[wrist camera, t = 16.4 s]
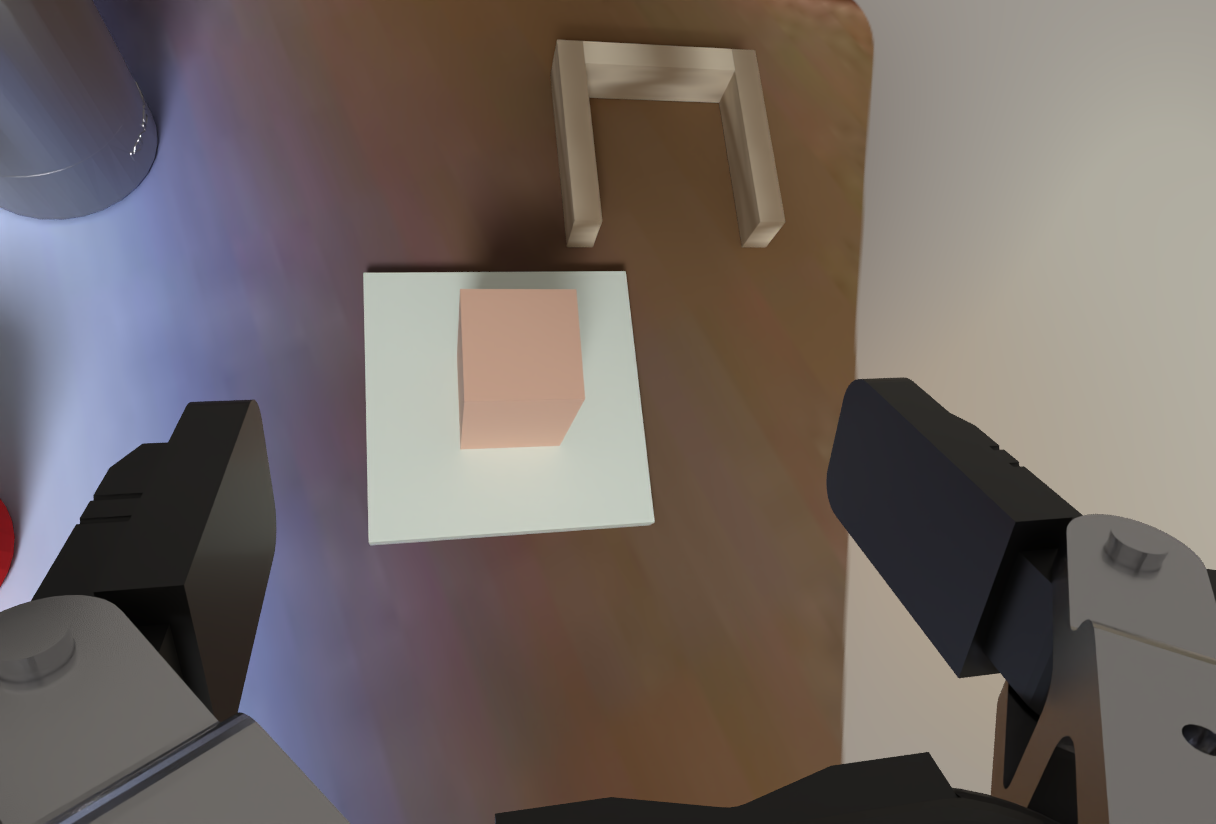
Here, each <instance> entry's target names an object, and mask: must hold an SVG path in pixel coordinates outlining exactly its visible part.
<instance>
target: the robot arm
mask: <svg viewBox="0 0 1216 824" xmlns="http://www.w3.org/2000/svg"><path fill="white" fill-rule="evenodd" d="M156 148H157V129H156V125H155V122H154V119H153V116H152V113H151V111H150V109H149V107H148V105H147V103H146V101H145V99H144V97H143V94H142V92H141V90H140V88H139V86H138V84H137V82H135V81H134V79H133V77H132V75H131V73H130V71H129V69H128V67H127V65H126V63H125V61H124V59H123V57H122V55H121V54H120V52H119V50H118V48H117V46H116V44H115V42H114V40H113V38H112V37H111V35H110V33H109V31H108V29H107V27H106V25H105V23H104V22H103V20H102V18H101V16H100V14H99V12H98V10H97V8H96V6H95V5H94V3H93V1H92V0H0V208H3V209H5V210H8V211H10V212H13V213H15V214H18V215H21V216H26V217H32V218H37V219H56V220H63V219H70V218H76V217H83V216H86V215H89V214H92V213H95V212H98V211H101V210H104V209H106V208H108V207H110V206H111V205H113V204H115V203H117V202H119V201H121V200H122V199H123V198H124V197H126V196H127V195H128V194H129V193H131V192H132V191H133V190H134V189H135V188H136V187H137V186H138V185H139V184H140V182H141V181H142V180H143V179H144V177H145V176H146V175H147V173H148V171H149V169H150V167H151V165H152V163H153V161H154V158H155V153H156ZM827 494H828V499H829V502H830V505H831V508H832V510H833V512H834V514H835V515H836V517H837V518H838V519H839V521H840V522H841V523H842V525H843V526H844V527H845V529H846V530H847V531H848V533H849V534H850V535H851V536H852V538H853V539H854V540H855V542H856V543H857V544H858V546H859V547H860V548H861V550H862V551H863V552H864V554H865V555H866V556H867V558H868V559H869V560H870V562H871V563H872V564H873V566H874V567H875V568H876V569H877V571H878V572H879V574H880V575H881V576H882V577H883V579H884V580H885V581H886V583H887V584H888V585H889V587H890V588H891V589H892V591H893V592H894V593H895V595H896V596H897V597H898V598H899V600H900V601H901V603H902V604H903V605H904V606H905V608H906V609H907V611H908V612H909V613H910V615H911V616H912V617H913V618H914V620H915V621H916V622H917V624H918V625H919V626H920V628H921V629H922V630H923V632H924V633H925V634H926V636H927V637H928V638H929V640H930V641H931V642H932V644H933V645H934V646H935V647H936V649H937V650H938V652H939V653H940V654H941V656H942V657H943V658H944V659H945V661H946V662H947V663H948V665H949V666H950V667H951V669H952V670H953V671H954V673H955V674H956V675H957V677H958V678H964V677H972V676H980V675H989V674H997V673H1001V674H1002V676H1003V677H1004V678H1005V679H1006V681H1005V683H1004V686H1003V688H1002V690H1001V693H1000V695H999V698H998V703H997V714H996V728H995V742H994V757H993V771H992V785H991V795H987V794H983V793H978V792H973V791H968V790H963V789H957V788H952V787H951V786H950V784H949V783H948V781H947V780H946V778H945V777H944V775H943V774H942V772H941V770H940V769H939V767H938V766H937V764H936V763H935V761H934V760H933V758H932V757H931V755H930V754H929V752H925V753H918V754H911V755H904V756H897V757H890V758H883V759H876V760H869V761H862V762H855V763H848V764H841V765H834V766H830V767H827V768H825V769H823V770H821V771H818V772H816V773H814V774H812V775H809V776H807V777H805V778H803V779H800V780H798V781H796V782H794V783H791V784H789V785H787V786H785V787H782V788H780V789H778V790H776V791H773V792H771V793H769V794H767V795H764V796H762V797H760V798H758V799H755V800H753V801H751V802H749V803H746V804H744V805H741V806H737V807H731V808H726V807H711V806H701V805H690V804H679V803H668V802H657V801H646V800H636V799H625V798H614V797H609V798H602V799H595V800H588V801H581V802H574V803H567V804H560V805H553V806H546V807H539V808H532V809H525V810H518V811H511V812H504V813H497V814H495V824H1216V570H1210V569H1206V568H1205V565H1204V564H1203V562H1202V561H1201V559H1200V558H1199V557H1198V556H1197V555H1196V554H1195V553H1194V552H1193V551H1192V550H1191V549H1190V548H1188V547H1187V546H1186V545H1185V544H1183V543H1182V542H1180V541H1179V540H1177V539H1176V538H1174V537H1172V536H1170V535H1169V534H1167V533H1165V532H1163V531H1161V530H1158V529H1157V528H1154V527H1152V526H1149V525H1147V524H1144V523H1141V522H1138V521H1135V520H1132V519H1128V518H1123V517H1119V516H1112V515H1104V514H1091V515H1084V516H1083V515H1082V514H1081V513H1079V512H1078V511H1077V510H1076V509H1075V508H1073V507H1072V506H1071V505H1070V504H1069V503H1067V502H1066V501H1065V500H1064V499H1062V498H1061V497H1060V496H1059V495H1058V494H1057V493H1055V492H1054V491H1053V490H1052V489H1050V488H1049V487H1048V486H1047V485H1046V484H1045V483H1043V482H1042V481H1041V480H1040V479H1039V478H1037V477H1036V476H1035V475H1034V474H1033V473H1031V472H1030V471H1029V470H1028V469H1027V468H1025V467H1020V466H1019V462H1018V461H1017V460H1016V459H1015V458H1013V457H1012V456H1011V455H1010V454H1009V453H1007V452H1006V451H1005V450H999V445H998V444H997V443H995V442H994V441H993V440H992V439H991V438H989V437H988V436H987V435H986V434H985V433H983V432H982V431H981V430H980V429H979V428H977V427H976V426H975V425H973V424H971V423H969V422H967V421H965V420H963V419H961V418H959V417H957V416H955V415H953V414H951V413H949V412H948V411H947V410H946V409H945V408H944V407H942V406H941V405H940V404H939V403H937V402H936V401H935V400H934V399H933V398H932V397H931V396H929V395H928V394H927V393H926V392H925V391H924V390H922V389H921V388H920V387H919V386H918V385H917V384H915V383H914V382H913V381H912V380H910V379H908V378H879V379H857V380H854V381H853V382H852V383H851V384H850V385H849V386H848V388H847V390H846V393H845V396H844V399H843V404H842V408H841V413H840V417H839V422H838V426H837V431H836V435H835V440H834V444H833V448H832V453H831V457H830V462H829V466H828V471H827ZM93 496H94V501H90V502H89V504H88V505H87V507H86V509H85V510H84V512H83V514H82V516H81V517H80V524H76V526H75V527H74V529H73V531H72V532H71V534H70V536H69V538H68V539H67V541H66V543H65V544H64V546H63V548H62V549H61V551H60V553H59V555H58V556H57V558H56V560H55V561H54V563H53V565H52V566H51V568H50V570H49V571H48V573H47V575H46V577H45V578H44V580H43V582H42V583H41V585H40V587H39V588H38V590H37V592H36V593H35V595H34V597H33V599H32V600H31V601H30V602H27V603H23V604H20V605H17V606H15V607H12V608H9V609H7V610H4V611H2V612H0V824H350V823H349V821H348V820H347V819H346V818H345V817H344V816H343V815H342V814H341V813H340V812H339V811H338V810H337V808H336V807H335V806H334V805H333V804H332V803H331V802H330V801H329V800H328V799H327V798H326V796H325V795H324V794H323V793H322V792H321V791H320V790H319V789H318V788H317V787H316V786H315V785H314V783H313V782H312V781H311V780H310V779H309V778H308V777H307V776H306V775H305V774H304V773H303V771H302V770H301V769H300V768H299V767H298V766H297V765H296V764H295V763H294V762H293V761H292V760H291V758H290V757H289V756H288V755H287V754H286V753H285V752H284V751H283V750H282V749H281V748H280V746H279V745H278V744H277V743H276V742H275V741H274V740H273V739H272V738H271V737H270V736H269V735H268V733H267V732H266V731H265V730H264V729H263V728H262V727H261V726H260V725H259V724H258V723H257V722H256V721H255V720H253V719H252V718H251V717H250V716H248V715H246V714H244V713H240V712H239V713H238V708H239V704H240V700H241V695H242V691H243V687H244V682H245V678H246V674H247V669H248V665H249V661H250V656H251V652H252V648H253V643H254V639H255V635H256V630H257V626H258V622H259V617H260V613H261V609H262V604H263V600H264V596H265V591H266V587H267V583H268V578H269V574H270V570H271V565H272V561H273V557H274V552H275V544H276V511H275V503H274V496H273V489H272V483H271V476H270V470H269V463H268V457H267V450H266V444H265V437H264V431H263V424H262V418H261V413H260V409H259V406H258V404H257V402H256V401H255V400H233V401H205V402H190V403H188V405H187V406H186V408H185V410H184V412H183V414H182V416H181V418H180V420H179V422H178V424H177V426H176V428H175V430H174V432H173V434H172V436H171V438H170V440H169V442H168V443H147V444H142V445H140V446H139V447H138V448H136V449H135V450H133V451H132V452H131V453H129V454H128V455H127V456H125V457H124V458H123V459H121V460H120V461H118V462H117V463H116V464H114V465H113V466H112V467H110V468H109V470H108V472H107V473H106V475H105V477H104V478H103V480H102V482H101V483H100V485H99V487H98V488H97V490H96V492H95V494H94V495H93Z"/></svg>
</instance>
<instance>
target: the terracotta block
mask: <svg viewBox="0 0 1216 824" xmlns="http://www.w3.org/2000/svg"><path fill="white" fill-rule="evenodd" d="M457 371H458V399H459V426H460V449H485V448H513V447H540V446H560V444H561V442H562V441H563V439H564V437H565V435H566V433H567V431H568V429H569V428H570V426H571V424H572V422H573V420H574V418H575V416H576V415H577V413H578V411H579V409H580V407H581V405H582V404H583V402H584V400H585V390H584V378H583V365H582V353H581V341H580V328H579V316H578V303H577V291H576V289H460V301H459V322H458V343H457Z"/></svg>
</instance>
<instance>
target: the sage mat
mask: <svg viewBox="0 0 1216 824" xmlns="http://www.w3.org/2000/svg"><path fill="white" fill-rule="evenodd" d="M363 276H364V327H365V377H366V427H367V478H368V528H369V544H370V545H382V544H396V543H410V542H424V541H438V540H451V539H465V538H479V537H493V536H506V535H520V534H534V533H548V532H562V531H575V530H589V529H603V528H617V527H630V526H644V525H651V524H652V523H654V513H653V504H652V496H651V487H650V478H649V470H648V461H647V452H646V443H645V435H644V426H643V417H642V409H641V400H640V391H639V383H638V374H637V365H636V356H635V348H634V339H633V330H632V322H631V313H630V304H629V296H628V287H627V278H626V271H577V272H407V273H363ZM460 289H576V291H577V303H578V316H579V328H580V341H581V353H582V365H583V378H584V390H585V400H584V402H583V404H582V405H581V407H580V409H579V411H578V413H577V415H576V416H575V418H574V420H573V422H572V424H571V426H570V428H569V429H568V431H567V433H566V435H565V437H564V439H563V441H562V442H561V444H560V446H540V447H513V448H485V449H460V426H459V399H458V371H457V343H458V322H459V301H460Z"/></svg>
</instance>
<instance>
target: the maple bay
mask: <svg viewBox="0 0 1216 824" xmlns="http://www.w3.org/2000/svg"><path fill="white" fill-rule="evenodd" d="M550 76H551V86H552V97H553V108H554V118H555V129H556V139H557V150H558V161H559V171H560V182H561V192H562V203H563V214H564V224H565V235H566V245H567V247H593V245H594V242H595V239H596V237H597V234H598V231H599V228H600V226H601V223H602V213H601V204H600V195H599V185H598V176H597V167H596V158H595V148H594V139H593V130H592V121H591V112H590V102H589V98H611V99H636V100H662V101H688V102H713V103H719V106H720V112H721V118H722V125H723V131H724V137H725V144H726V150H727V156H728V163H729V169H730V175H731V181H732V188H733V194H734V200H735V207H736V213H737V219H738V226H739V232H740V238H741V245H742V247H766V246H767V245H768V244H769V242H770V241H771V240H772V238H773V237H774V236H775V235H776V233H777V232H778V231H779V229H780V228H781V227H782V226H783V224H784V223H785V217H784V211H783V206H782V200H781V194H780V189H779V183H778V177H777V171H776V166H775V160H774V154H773V149H772V143H771V137H770V132H769V126H768V120H767V115H766V109H765V103H764V98H763V92H762V86H761V81H760V75H759V69H758V63H757V58H756V52H755V50H741V49H722V48H704V47H685V46H666V45H648V44H629V43H610V42H591V41H573V40H557V42H556V47H555V53H554V58H553V64H552V69H551V75H550Z"/></svg>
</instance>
